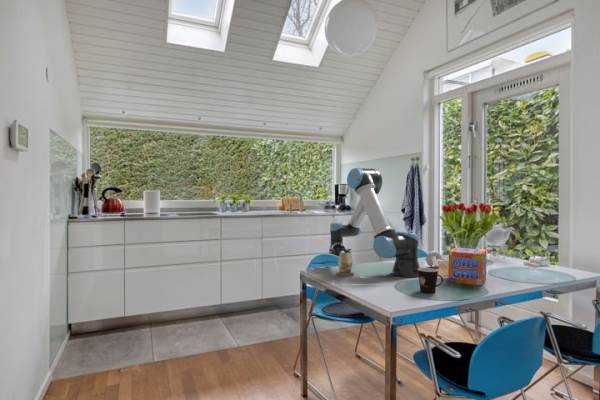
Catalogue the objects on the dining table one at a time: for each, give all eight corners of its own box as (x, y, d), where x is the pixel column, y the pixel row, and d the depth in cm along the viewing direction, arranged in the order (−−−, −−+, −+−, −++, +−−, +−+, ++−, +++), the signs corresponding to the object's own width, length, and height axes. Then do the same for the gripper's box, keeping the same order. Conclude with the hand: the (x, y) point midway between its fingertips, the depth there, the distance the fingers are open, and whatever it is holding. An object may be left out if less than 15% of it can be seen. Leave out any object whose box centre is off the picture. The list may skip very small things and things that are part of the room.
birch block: (348, 264, 198) (351, 252, 189) (350, 274, 194) (352, 262, 185) (338, 264, 198) (339, 252, 189) (338, 274, 194) (340, 262, 185)
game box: (482, 286, 174) (482, 253, 174) (448, 281, 182) (448, 251, 182) (486, 279, 187) (486, 249, 187) (454, 276, 195) (454, 247, 195)
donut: (440, 266, 220) (440, 250, 220) (443, 267, 217) (443, 250, 217) (424, 267, 219) (425, 250, 218) (427, 268, 215) (428, 251, 215)
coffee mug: (414, 289, 168) (414, 267, 167) (432, 289, 168) (432, 267, 168) (425, 296, 156) (425, 273, 156) (444, 296, 157) (444, 273, 157)
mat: (356, 273, 201) (356, 269, 201) (362, 280, 185) (362, 275, 185) (327, 273, 200) (327, 269, 200) (331, 280, 184) (331, 275, 184)
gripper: (349, 255, 217) (356, 261, 193) (327, 256, 216) (331, 262, 193) (349, 243, 217) (355, 247, 193) (327, 243, 217) (331, 248, 193)
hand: (343, 255), depth 193 cm, fingers closed
